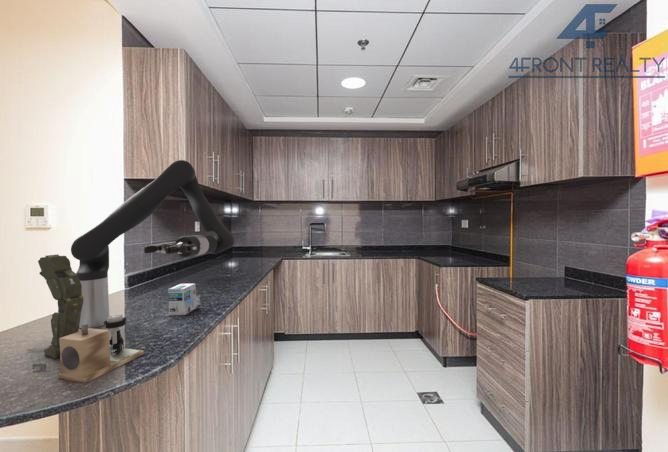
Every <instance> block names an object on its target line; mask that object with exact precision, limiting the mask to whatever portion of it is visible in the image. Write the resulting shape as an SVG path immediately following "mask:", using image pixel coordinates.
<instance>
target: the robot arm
mask: <svg viewBox="0 0 668 452" xmlns="http://www.w3.org/2000/svg"><path fill="white" fill-rule="evenodd" d="M178 188H180V189H181V190H182V192H183V193H184V194H185V196H186V198H187V200H188V202H189V204H190V206H191V208H192V211H193V213H194V215H195V217H196V218H197V221H198V222H199V224H200V226H201V228H202V229H203V231H204V232H205V233H211V232H213V233H215V234H216V235H214V236H213V235H208V234H207V235H198V234H197V235H196V234H195V235H183V236H180V237H178V239H176V241H170V242H161V243H156V244H154V243H152V244H150V245H145V246H144V248H143V249H144V250H143V252H144V254H152V253H154V254H156V253H161V254H166V255H172V254H177V255H178V256H179V257H181V258H182V259H183V258H185V259H186V258H192V257H197V256H201V255H205V254H210V255H211V254H212V255H216V254H219V253H222V252H224V251H227V250H228V249H231V248H232V247H234V245H235V239H234V236H233V234H232V233H231V232H230V230H228V229H227V228H226V227H225V226H224V225H223V224H222V223H221V221H220V220H219V218H218V216H217V214H216V213H215V212H216V211H214V209H213V207H212V205H211V204H210V202H209V201H208V199H207V198H206V196H205V195H204V192H203V190H202V188H201V186H200V184H199V181H198V179H197V174H196V171H195V168H194V167H193V165H192V164H191V163H190V162H189V161H187V160H183V159H178V160H175V161H173V162H171V163H170V164H169V165H168V166H167V167H166V168H165V169H164V170H163V171H162V172H161V173H160V174H159V175H158V176H157V177H155V179H154V180H153V181H151V182H149V183H148V184H146V186H144V187H142V188H141V189H140V190H138V191H137V192H136V193H134V194H133V195H132V196H130V197H129V198H128V199H126V200H125V201H124V202H123V203H121V205H119V206H118V207H117V208H116V209H115V210H114V211H112V212H111V213H110V214H109V215H108V216H107V217H105V219H103V221H101V222H100V223H99V224H97V225H96V226H95V227H93V228H91V229H90V230H88V231H87V232H85V233H83V234H81V235H80V236H78V237H77V238H76V239H75V240H74V241H73V242H72V243H71V248H70V253H71V255H72V257H73V258H74V259H76V260H79V266H78V268H77V271H76V272H75V273H76V274H77V275H78V277H79V280H80V282H81V285H82V296H83V306H82V310H81V317H80V324H79V329H82V327H81V325H83V324H88V328H92V329H95V328H99V327H102V326H105V324H104V321H106V320H108V317H110V298H109V274H108V272H109V269H110V247H109V246H110V245H111V243H112V242H114V240H116V239H117V238H119V237H120V236H122V235H123V234H125V233H127V232H129V231H130V230H132V229H134V228H136V227H137V226H138V225H140V224H142V223H143V222H144V221H145V220H146V219H148V218H149V217H150V216H151V215H152V214H153V213H154V212H156V211H157V209H159V207H160V206H161V205H162V203H163V202H164V200H166V198H167V197H168V196H169V195H170V194H172V193H173V192H175V190H177V189H178Z"/></svg>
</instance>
